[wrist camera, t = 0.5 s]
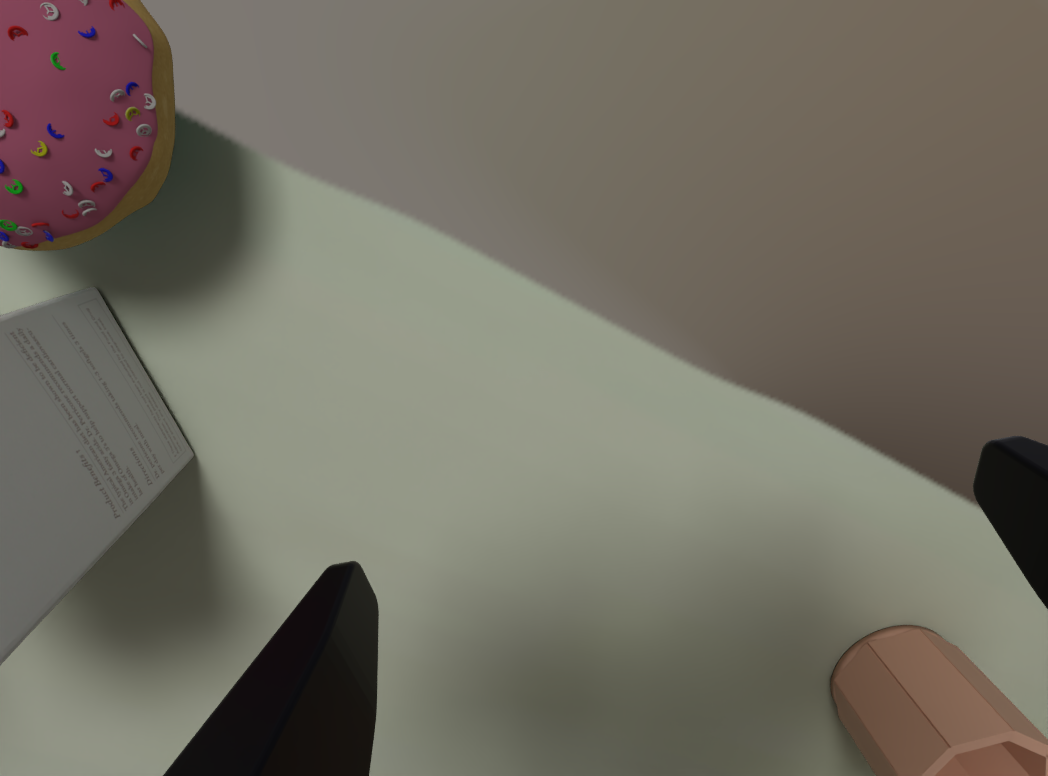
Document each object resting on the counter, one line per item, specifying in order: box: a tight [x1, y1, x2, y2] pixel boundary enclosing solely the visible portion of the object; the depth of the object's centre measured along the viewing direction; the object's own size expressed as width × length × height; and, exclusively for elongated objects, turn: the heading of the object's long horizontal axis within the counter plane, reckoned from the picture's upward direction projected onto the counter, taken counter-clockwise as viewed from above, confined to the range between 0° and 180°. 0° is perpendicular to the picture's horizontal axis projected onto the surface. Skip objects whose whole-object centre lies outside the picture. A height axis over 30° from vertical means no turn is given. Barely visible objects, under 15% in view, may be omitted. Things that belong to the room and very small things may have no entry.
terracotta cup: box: [831, 625, 1048, 776], centre depth 28 cm, size 6×6×6 cm
